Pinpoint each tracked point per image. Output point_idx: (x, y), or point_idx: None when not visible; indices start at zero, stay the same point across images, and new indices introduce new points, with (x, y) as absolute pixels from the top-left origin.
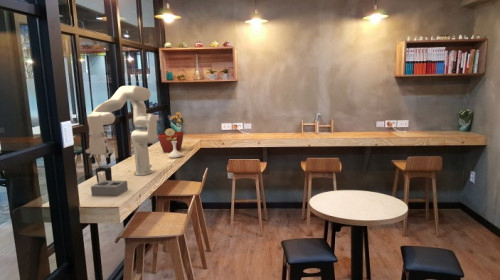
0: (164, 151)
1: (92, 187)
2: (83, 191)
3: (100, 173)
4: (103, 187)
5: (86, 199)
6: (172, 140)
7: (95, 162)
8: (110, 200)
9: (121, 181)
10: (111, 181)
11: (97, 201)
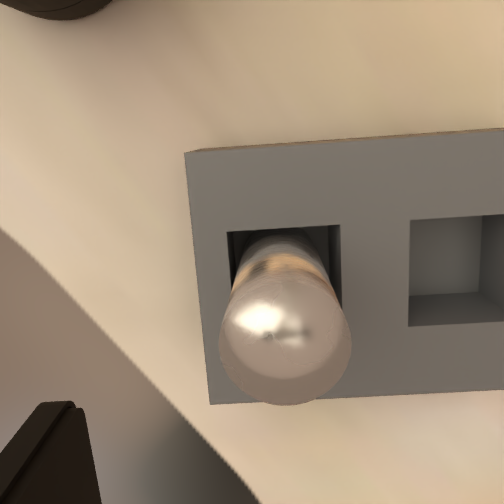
0: None
1: (231, 398)
2: (28, 248)
3: (305, 393)
4: (373, 391)
5: (236, 437)
6: None
7: (80, 423)
8: (479, 435)
9: (501, 166)
10: (348, 181)
11: (372, 467)
